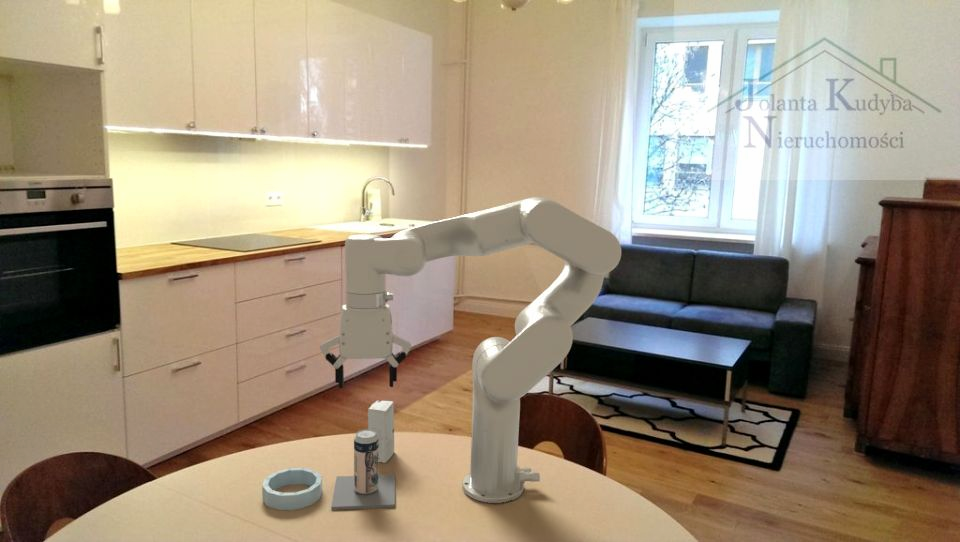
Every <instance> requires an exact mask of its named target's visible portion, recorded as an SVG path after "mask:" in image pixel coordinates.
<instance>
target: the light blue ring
mask: <svg viewBox="0 0 960 542" xmlns="http://www.w3.org/2000/svg"><path fill="white" fill-rule="evenodd" d="M288 485H306V486H309V487H308V488H306V489H302V490H299V491H296V492H281V491H277V489H278V488H281V487H284V486H288ZM261 488H262V492H261V493H262V495H261V497H262V501H263V503H264V504H265V505H266V506H267V507H268V508H272V509H275V510H279V511H296V510H300V509H304V508H306V507H309V506H312V505H314V504H315V503H317V501H319V500H320V499H321V498H322V493H323V476H322V475H321V474H320V473H319V472H318V471H317V470H314V469H310V468H306V467H289V468H284V469H281V470H278V471H274V472H273V473H271V474H270V475H268V476H266V477H265V478H264V479H263V483H262V486H261Z"/></svg>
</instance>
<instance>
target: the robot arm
mask: <svg viewBox="0 0 960 542" xmlns="http://www.w3.org/2000/svg"><path fill="white" fill-rule="evenodd" d="M533 243H534V244H535V245H537V246H539V247H540V248H542V249H544V250H545V251H546V252H548V253H550V254H552V255H553V256H556V257H558V258H559V259H562V260H563V261H564V265H563V268H562V271H561V272H560V274H559V275H558V277H556V278H555V280H554V281H553V282H552V283H551V284H550V285H549V286H548V287H547V288H546V289H545V290H544V291H543V292H541V294H540V295H538V296H537V297H536V298H535V299H534V300H533V301H531V303H530V304H528V305H527V306H526V307H524V308H523V310H521V311H520V312H519V313H518V315H517V316H516V318H515V322H514V331H515V334H516V336H514V338H513V339H512V340H509V339H506V338H504V337H503V336H493V337H492V336H491V337H488V338H487V339H484V340H482V341H481V342H480V343H479V345H477V346H476V349H475V351H474V353H473V357H472V364H471V365H472V367H471V374H472V377H471V378H472V412H471V413H472V414H471V416H472V417H471V440H470V441H471V442H470V443H471V445H470V467H469V468H470V472H469V473H468V474H467V475H465V476H464V477H463V479H462V484H461V485H462V490H463V492H464V493H465V494H466V496H468V497H469V498H472V499H474V500H476V501H477V502H478V501H479V502H482V503H487V502H488V504H489V503H490V504H503V503H502V502H504V503H508V501H509V502H511V501H510V500H512V501H514V500H516V499H517V498H519V497H520V496H522V494H523V492H524V489H525V487H524V485H525V483H526V482H531V483H534V482H540V480H541V474H540V472H539V471H532V468H531V467H520V466H519V465H518V454H519V453H518V450H519V434H520V433H519V431H520V429H519V428H520V415H521V414H520V412H521V398H522V397H524V396H525V395H526V394H527V393H529V392H530V391H531V390H532V389H533V388H534V387H536V386H537V384H539V383H540V382H541V381H542V380H543V379H544V378H546V377H547V376H548V375H549V374H550V373H551V372H552V371H554V369H555V368H557V367H558V366H559V365H560V364H561V363H562V361H564V360H565V358H566V356H567V355H569V352H570V350H571V348H572V344H573V341H574V339H573V330H572V328H571V326H572V325H574V324H575V322H577V320H578V319H580V317H581V316H582V315H584V313H586V311H588V309H589V308H590V307H592V305H593V304H594V303H595V301H596V299H597V298H598V296H599V294H600V292H601V290H602V287H603V283H604V279H605V275H606V274H608V273H610V272H611V271H613V270H614V269H615V268H616V267H617V266H618V265H619V262H620V261H621V259H622V258H621V257H622V247H621V243H620V241H619V239H618V238H617V237H616V235H615V234H614V233H612V232H611V231H609V230H607V229H605V228H604V227H602V226H599V225H598V224H596V223H594V222H592V221H591V220H588V219H587V218H584V217H582V216H580V215H579V214H577V213H576V212H574V211H572V210H571V209H569V208H567V207H565V206H564V205H562V204H560V203H559V202H557V201H555V200H552V199H549V198H547V197H543V196H534V197H533V196H532V197H529V198H525V199H524V198H523V199H520V200H517V201H513V202H510V203H506V204H502V205H497V206H495V207H490V208H487V209H484V210H478V211H476V212H471V213H468V214H467V213H466V214H462V215H458V216H455V217H452V218H445V219H442V220H438V221H433V222H430V223H426V224H421V225H418V226H415V227H411V228H407V229H404V230H401V231H398V232H397V233H395V234H393V235H392V236H391V237H390V238H383V237H382V236H380V235H378V234H372V233H371V234H369V233H367V234H364V233H363V234H361V233H360V234H353V235H350V236H348V237H347V238H346V239H345V242H344V269H345V271H344V272H345V273H344V278H345V279H344V280H345V281H344V284H345V304H342V306H341V311H340V317H339V332H338V333H339V334H338V335H336V336H334V337H332V338H330V339H327V340H325V341H324V342H322V343H321V344H320V346H319V349H320V350H321V353H322V354H323V356H324V358H325V361H327V362H328V363H329V364H330V365H331V366H333V368H334V370H335V372H334V375H335V377H334V379H335V380H334V381H335V383H336V384H338V389H342V388H344V382H345V381H344V377H345V376H344V372H345V371H344V369H345V368H344V363H345V361H346V360H369V359H371V360H372V359H373V360H374V359H375V360H376V359H377V360H378V359H385V360H386V361H387V362H388V363H389V364H388V365H389V366H388V367H389V370H388V371H389V372H388V374H389V380H388V381H389V382H388V383H389V384H388V385H389V387H390V388H394V382H398V377H397V376H398V372H397V371H398V366H399V365H400V364H401V363H402V362H403V361H404V360H405V359H406V358H407V355H408V354H409V352H410V350H411V348H412V342H410V341H409V340H407V339H405V338H403V337H400V336H398V335H396V334H394V333H393V318H392V312H391V307H390V305H389V304H387V303H388V302H390V301H394V293H389V292H388V291H386V289H387V287H386V286H387V284H386V281H387V280H386V279H387V277H386V276H387V275H391V276H396V277H412V276H415V275H417V274H419V273H420V272H421V271H422V270H423V269H424V267H425V266H426V263H428V262H431V261H435V260H438V259H443V258H448V257H456V256H465V257H467V256H468V257H474V258H475V257H485V256H489V255H494V254H496V253H500V252H503V251H507V250H510V249H515V248H517V247H523V246H526V245H529V244H533ZM394 344H396V345H398V346H400V347H401V350H400V352H398V354H397V355H395V354H394V352H393V348H394V347H393V346H394ZM336 345H338V353H339V354H338V355H337V356H336V355H335V354H334V353H332V352H331V350H330V349H331V348H332V347H335V346H336ZM513 499H514V500H513Z"/></svg>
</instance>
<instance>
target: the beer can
mask: <svg viewBox="0 0 960 542" xmlns="http://www.w3.org/2000/svg"><path fill="white" fill-rule="evenodd" d="M378 454H379V438H378V436H377V433H376V432H375V431H373V430H368V429H362V430H358V431H357V432H356V434H355V436H354V438H353V476H354V490H355V491H356V492H358V493H360V494H371V493H373V492H374V491H376V490H377V489H378V475H379V462H378Z"/></svg>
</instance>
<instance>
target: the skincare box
mask: <svg viewBox="0 0 960 542" xmlns="http://www.w3.org/2000/svg"><path fill="white" fill-rule="evenodd" d="M367 430H373V431H375V432H376V433H377V436H378V438H379V454H378V463H381V462H382V463H383V464H386V463H387V462H388V461H389V459H391V458H392V456H393V454H394V452H395V404H394V401H392V400H380V399H379V400H376V401H375V402H374V403H372V404H371V405H370V407H368V409H367Z"/></svg>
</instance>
